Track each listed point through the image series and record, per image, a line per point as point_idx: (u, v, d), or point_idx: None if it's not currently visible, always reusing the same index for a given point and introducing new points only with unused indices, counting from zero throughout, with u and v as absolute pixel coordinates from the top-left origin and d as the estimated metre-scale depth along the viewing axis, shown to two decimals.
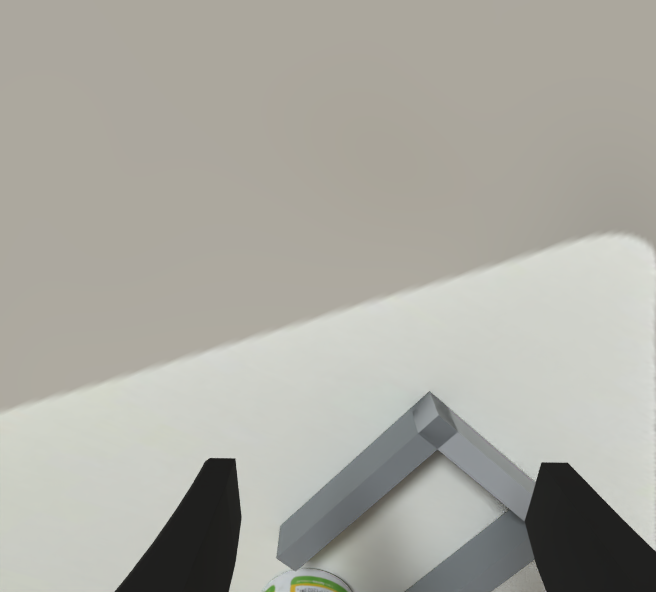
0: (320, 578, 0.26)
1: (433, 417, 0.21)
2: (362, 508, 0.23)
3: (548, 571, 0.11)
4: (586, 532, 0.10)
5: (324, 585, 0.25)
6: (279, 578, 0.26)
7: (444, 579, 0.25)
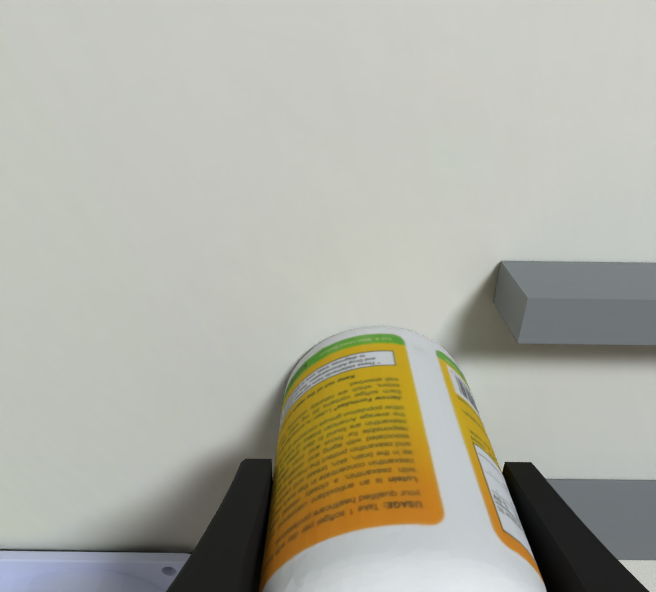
0: (466, 382, 0.14)
1: None
2: None
3: None
4: (542, 531, 0.10)
5: None
6: (409, 334, 0.13)
7: (588, 504, 0.16)
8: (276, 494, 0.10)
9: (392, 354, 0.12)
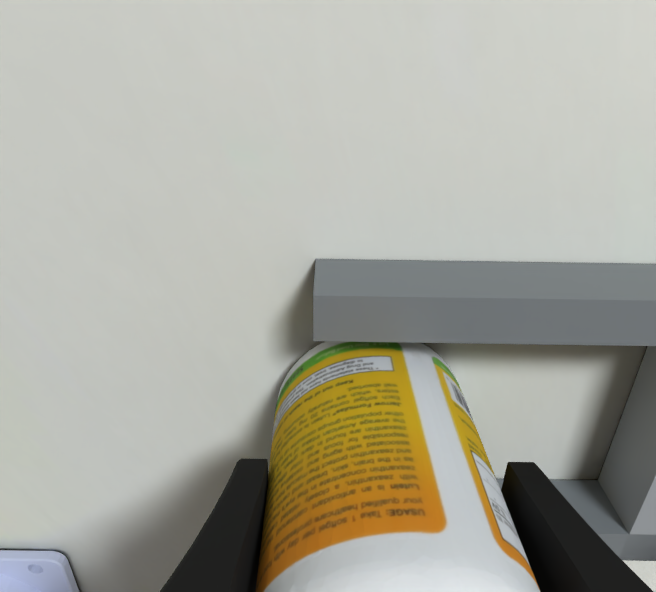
0: None
1: None
2: (522, 337, 0.12)
3: None
4: (546, 531, 0.10)
5: None
6: None
7: None
8: (273, 499, 0.10)
9: (390, 360, 0.12)
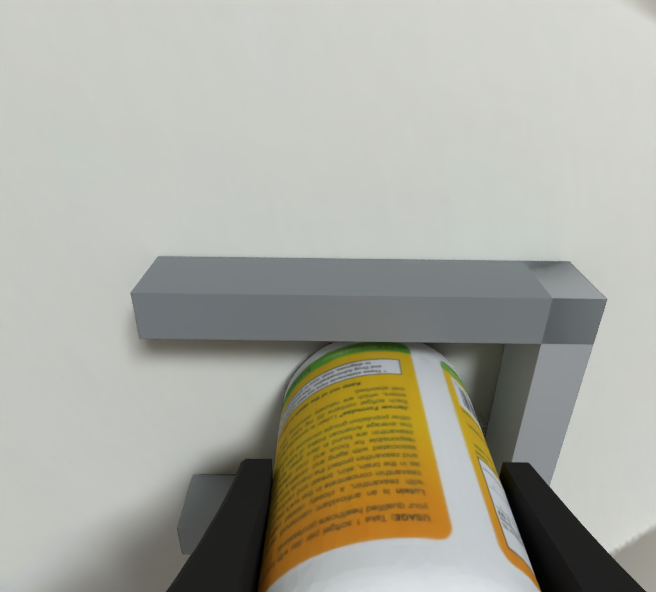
0: None
1: (591, 295, 0.11)
2: (348, 334, 0.12)
3: None
4: (540, 531, 0.10)
5: None
6: (414, 343, 0.13)
7: None
8: (277, 499, 0.10)
9: (398, 363, 0.12)
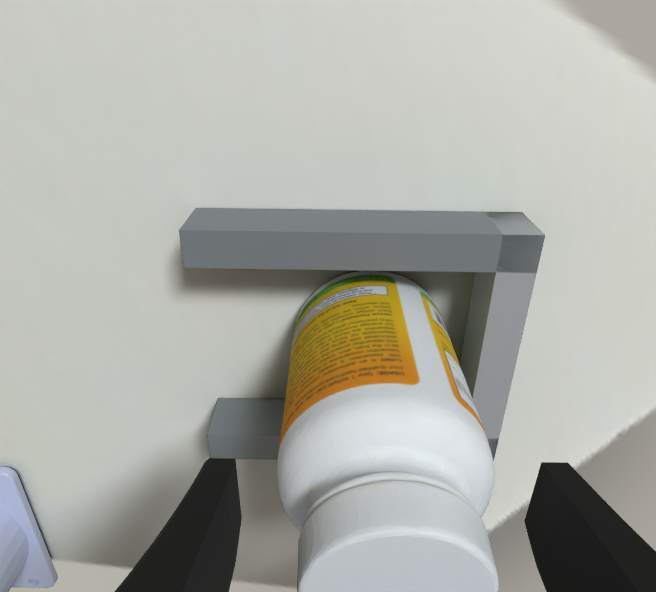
0: None
1: (533, 232, 0.15)
2: (346, 264, 0.15)
3: (548, 571, 0.11)
4: (586, 532, 0.10)
5: None
6: (399, 277, 0.17)
7: None
8: (293, 380, 0.14)
9: (385, 288, 0.16)
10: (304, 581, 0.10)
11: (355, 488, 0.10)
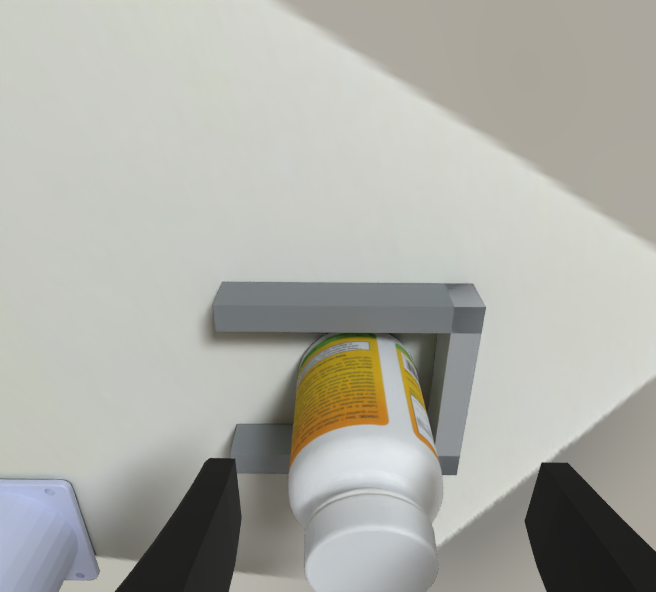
0: (413, 364, 0.22)
1: (477, 304, 0.19)
2: (337, 328, 0.20)
3: (548, 571, 0.11)
4: (586, 531, 0.10)
5: (416, 373, 0.22)
6: None
7: None
8: (299, 417, 0.19)
9: (368, 344, 0.21)
10: (309, 562, 0.14)
11: (342, 499, 0.15)
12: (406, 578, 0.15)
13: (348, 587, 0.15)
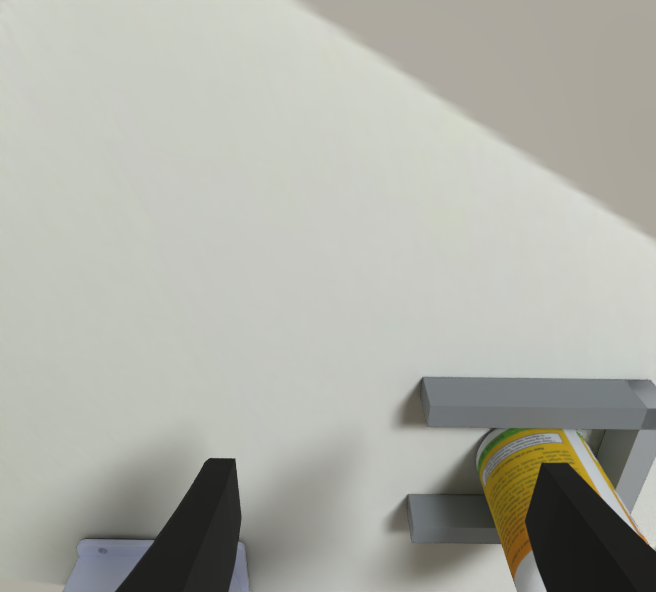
0: None
1: None
2: (538, 425, 0.22)
3: (548, 571, 0.11)
4: (586, 532, 0.10)
5: None
6: None
7: (483, 510, 0.26)
8: (514, 509, 0.21)
9: (559, 436, 0.23)
10: None
11: None
12: None
13: None
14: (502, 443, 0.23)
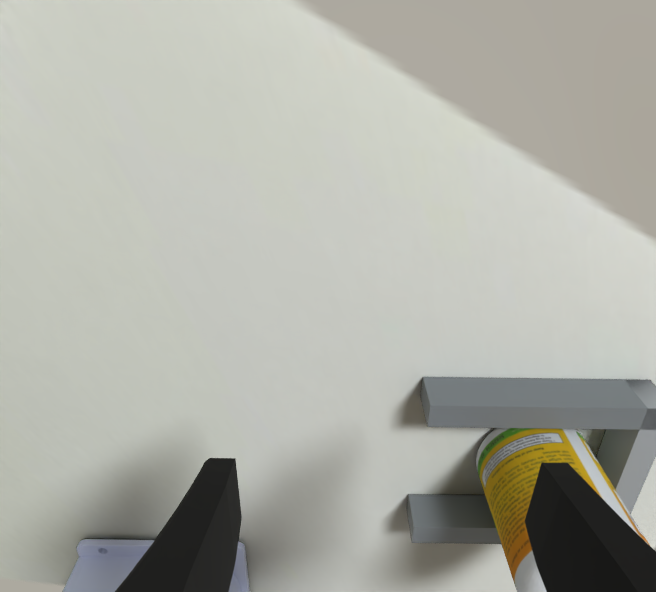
0: None
1: None
2: (538, 425, 0.22)
3: (548, 571, 0.11)
4: (586, 532, 0.10)
5: None
6: None
7: (483, 510, 0.26)
8: (514, 509, 0.21)
9: (559, 436, 0.23)
10: None
11: None
12: None
13: None
14: (502, 443, 0.23)
